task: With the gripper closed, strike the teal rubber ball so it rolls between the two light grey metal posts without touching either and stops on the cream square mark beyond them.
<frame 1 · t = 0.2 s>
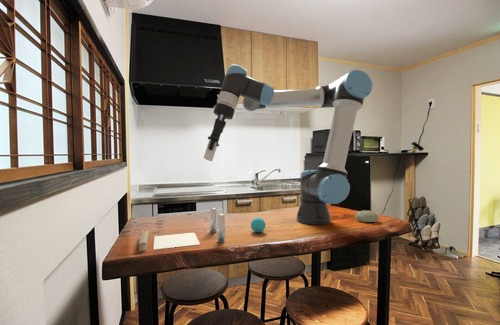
hand: (207, 160, 89), 27 cm above the table, tool tilted 20°, fingers open, 13 cm apart
ball: (258, 225, 92), on the table
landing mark: (176, 240, 82), on the table
post 2: (220, 241, 81), on the table
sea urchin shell: (366, 222, 110), on the table
post 1: (213, 231, 92), on the table
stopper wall: (143, 243, 78), on the table
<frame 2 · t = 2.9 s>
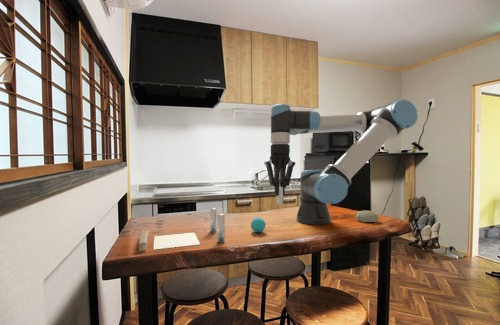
hand: (279, 203, 95), 10 cm above the table, tool pointing down, fingers closed
nothing on the table moved.
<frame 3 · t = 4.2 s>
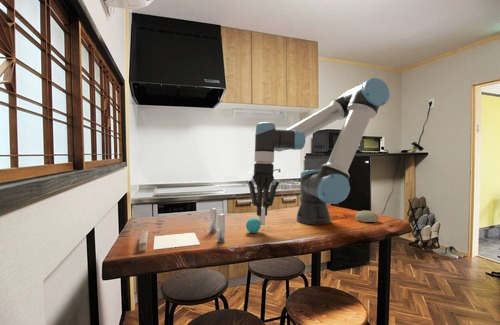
hand: (261, 224, 93), 3 cm above the table, tool pointing down, fingers closed
ball: (253, 225, 91), on the table
everything else where it was.
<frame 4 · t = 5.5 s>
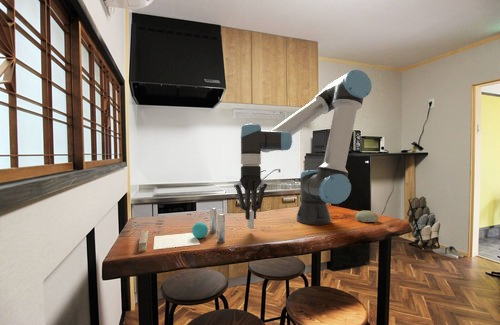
hand: (250, 227, 91), 2 cm above the table, tool pointing down, fingers closed
ball: (200, 230, 85), on the table
everything else where it was.
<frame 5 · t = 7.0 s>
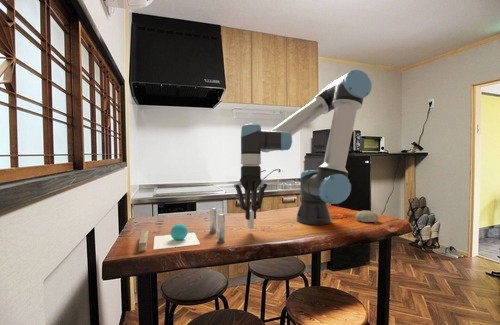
hand: (250, 227, 91), 2 cm above the table, tool pointing down, fingers closed
ball: (179, 232, 82), on the table
everything else where it was.
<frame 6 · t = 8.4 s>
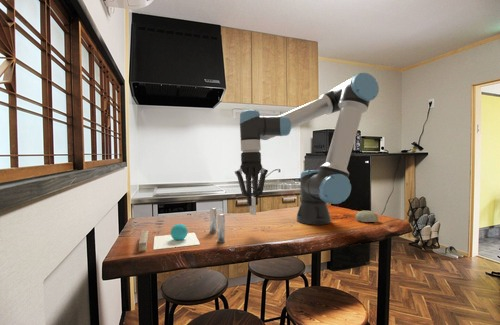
hand: (252, 214, 91), 7 cm above the table, tool pointing down, fingers closed
nothing on the table moved.
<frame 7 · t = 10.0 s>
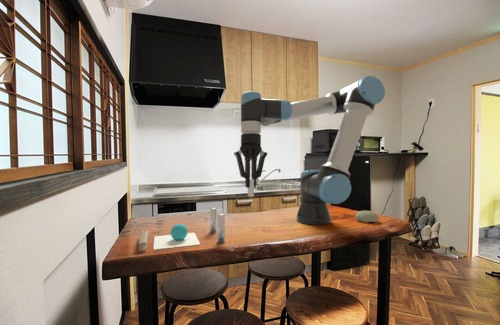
hand: (250, 196, 91), 14 cm above the table, tool pointing down, fingers closed
nothing on the table moved.
at the end: ball 1.0 cm from the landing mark (horizontally); ball never touched post 2; ball never touched post 1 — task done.
